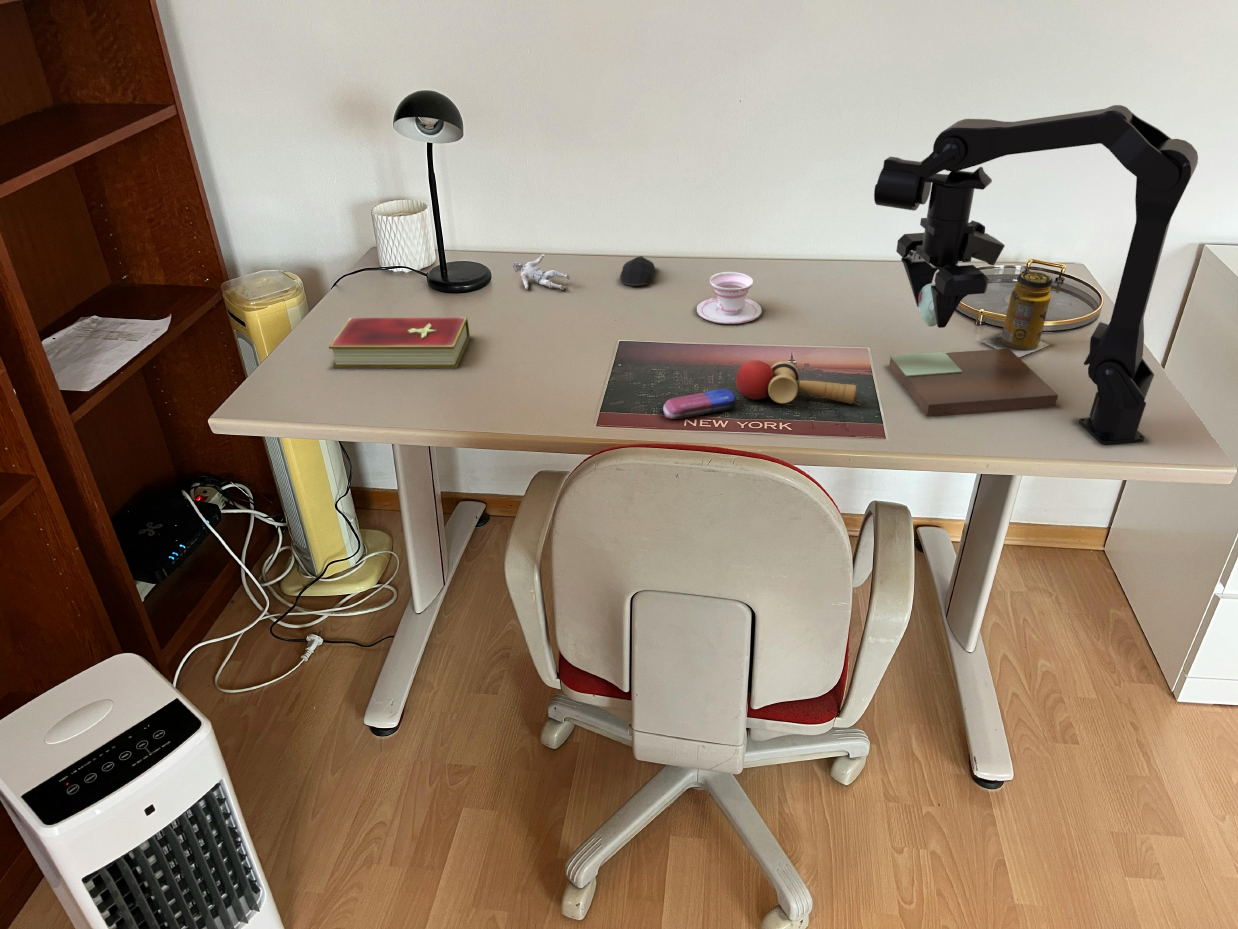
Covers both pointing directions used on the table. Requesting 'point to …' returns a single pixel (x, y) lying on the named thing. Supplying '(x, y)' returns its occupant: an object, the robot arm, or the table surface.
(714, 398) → the eraser
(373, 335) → the hardcover book
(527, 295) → the table surface
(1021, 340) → the condiment
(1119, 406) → the robot arm
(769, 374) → the kendama
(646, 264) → the gaming mouse
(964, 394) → the walnut board
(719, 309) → the teacup
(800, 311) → the table surface
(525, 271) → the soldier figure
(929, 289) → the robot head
